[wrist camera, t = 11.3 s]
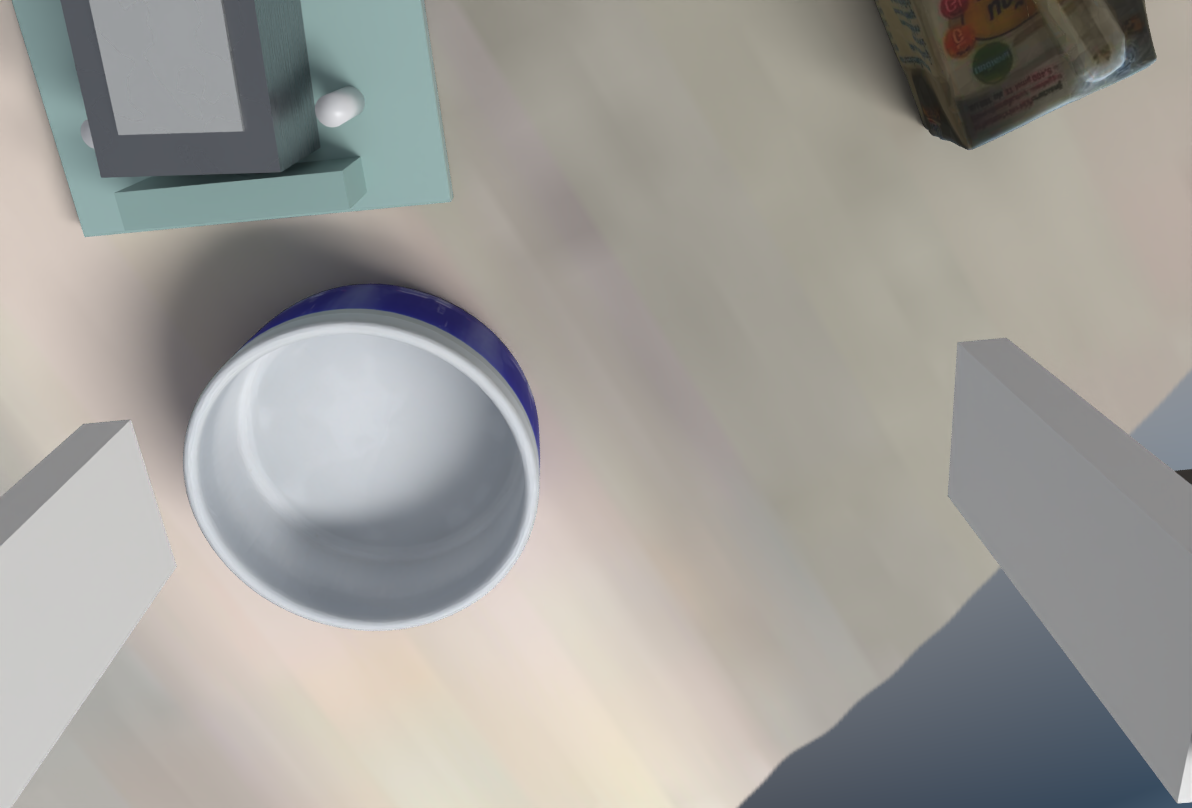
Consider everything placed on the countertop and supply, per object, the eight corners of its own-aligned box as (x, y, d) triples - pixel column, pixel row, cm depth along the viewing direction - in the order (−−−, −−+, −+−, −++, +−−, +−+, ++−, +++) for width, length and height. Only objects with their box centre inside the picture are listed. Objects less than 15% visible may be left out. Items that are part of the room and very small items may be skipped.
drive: (320, 147, 40) (279, 173, 35) (165, 152, 40) (98, 178, 34) (283, -123, 36) (230, -144, 31) (111, -118, 36) (25, -139, 30)
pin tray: (389, -230, 36) (365, -259, 32) (453, 197, 42) (440, 219, 38) (-32, -186, 36) (-110, -209, 32) (95, 231, 42) (43, 257, 38)
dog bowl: (490, 596, 51) (479, 670, 45) (200, 515, 48) (152, 582, 43) (585, 339, 45) (587, 388, 40) (263, 234, 43) (217, 269, 37)
